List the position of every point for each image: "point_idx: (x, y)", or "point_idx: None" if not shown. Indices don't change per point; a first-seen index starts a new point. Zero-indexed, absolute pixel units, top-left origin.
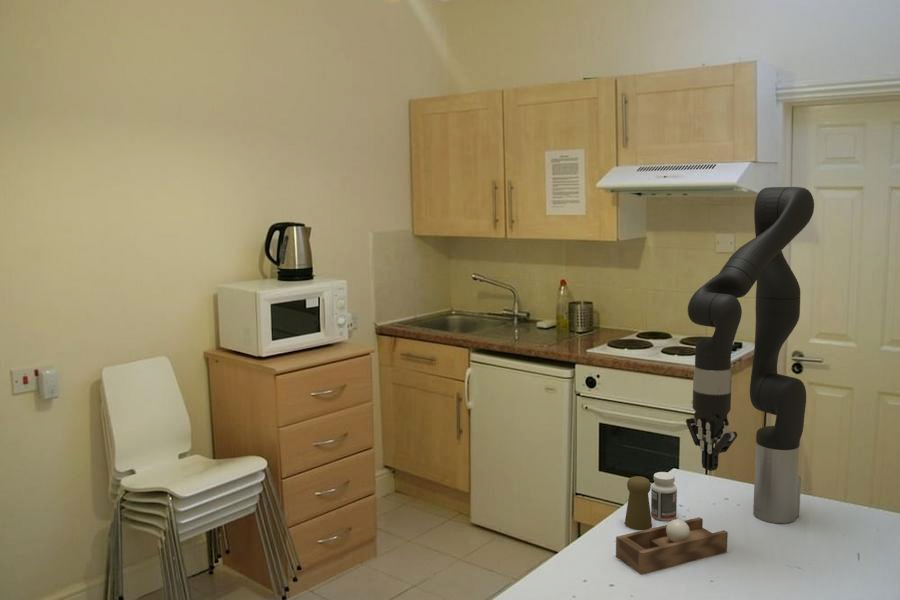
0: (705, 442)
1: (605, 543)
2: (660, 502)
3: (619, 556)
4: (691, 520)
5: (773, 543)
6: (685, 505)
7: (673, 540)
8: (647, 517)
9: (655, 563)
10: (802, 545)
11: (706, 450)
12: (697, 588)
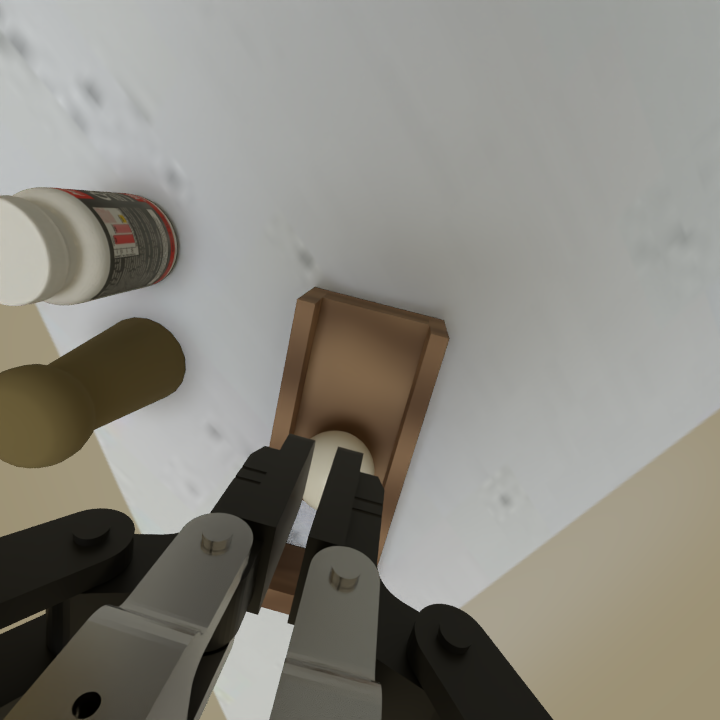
0: (200, 711)
1: (189, 516)
2: (115, 293)
3: None
4: (298, 348)
5: (529, 118)
6: (101, 75)
7: None
8: (159, 375)
9: None
10: (629, 31)
11: (248, 603)
12: (500, 554)
